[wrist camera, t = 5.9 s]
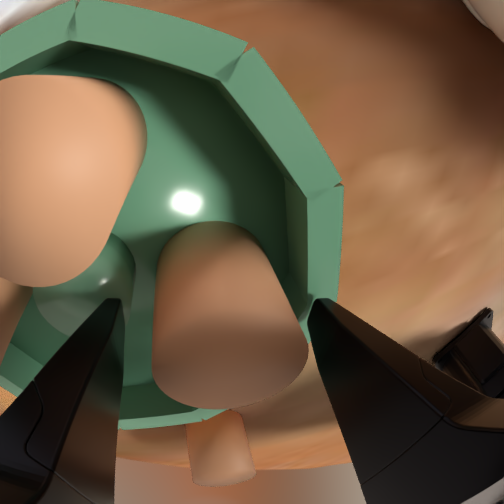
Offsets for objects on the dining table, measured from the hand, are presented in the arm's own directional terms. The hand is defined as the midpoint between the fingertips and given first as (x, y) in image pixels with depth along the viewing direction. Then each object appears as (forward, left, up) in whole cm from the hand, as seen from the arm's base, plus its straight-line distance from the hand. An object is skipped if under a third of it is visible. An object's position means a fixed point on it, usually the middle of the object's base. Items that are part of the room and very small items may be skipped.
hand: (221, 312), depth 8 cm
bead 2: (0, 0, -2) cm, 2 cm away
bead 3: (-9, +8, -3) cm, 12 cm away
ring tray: (+3, +3, -3) cm, 5 cm away
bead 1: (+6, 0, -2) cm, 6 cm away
